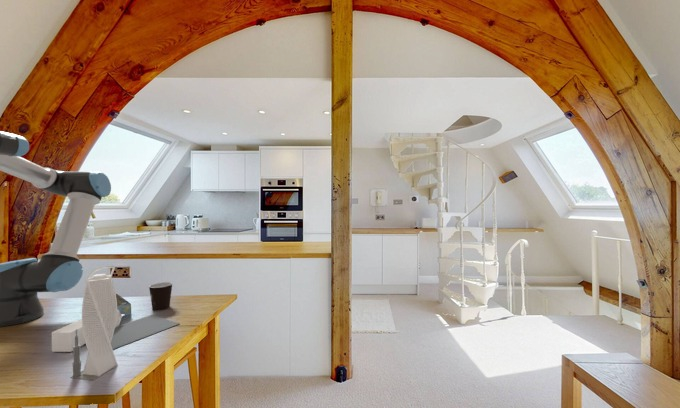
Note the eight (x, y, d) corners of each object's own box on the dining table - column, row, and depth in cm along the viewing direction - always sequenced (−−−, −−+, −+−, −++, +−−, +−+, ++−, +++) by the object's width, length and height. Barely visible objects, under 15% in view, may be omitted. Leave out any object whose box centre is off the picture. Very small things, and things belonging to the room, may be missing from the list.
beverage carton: (107, 324, 111) (107, 307, 111) (94, 312, 123) (94, 297, 123) (132, 318, 117) (131, 301, 117) (117, 307, 129) (117, 292, 129)
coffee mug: (169, 310, 125) (169, 286, 125) (146, 312, 122) (145, 288, 122) (176, 301, 136) (176, 279, 136) (155, 303, 134) (155, 281, 134)
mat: (77, 340, 98) (77, 339, 98) (152, 315, 119) (152, 314, 119) (103, 353, 89) (103, 352, 89) (179, 324, 111) (179, 323, 111)
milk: (51, 351, 90) (109, 322, 112) (70, 352, 90) (125, 322, 112) (51, 331, 90) (109, 306, 112) (70, 332, 90) (125, 306, 112)
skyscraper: (101, 361, 85) (100, 265, 85) (125, 364, 84) (124, 266, 84) (70, 378, 77) (69, 272, 77) (97, 381, 76) (95, 273, 76)
